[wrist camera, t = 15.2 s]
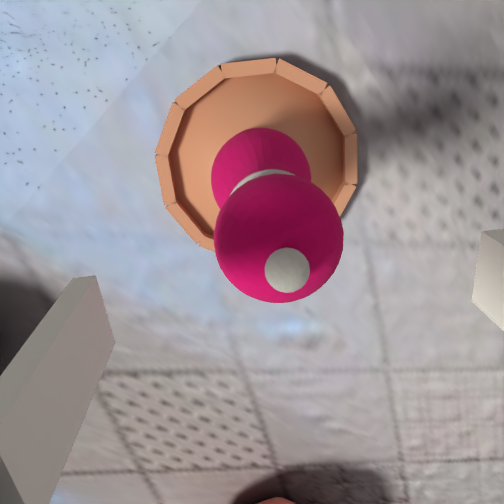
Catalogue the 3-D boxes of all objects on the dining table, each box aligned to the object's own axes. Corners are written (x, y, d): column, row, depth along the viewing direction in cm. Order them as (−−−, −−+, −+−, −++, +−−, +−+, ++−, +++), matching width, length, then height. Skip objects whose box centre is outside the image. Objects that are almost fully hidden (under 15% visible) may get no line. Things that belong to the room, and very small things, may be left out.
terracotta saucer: (178, 263, 37) (176, 270, 36) (142, 72, 31) (138, 72, 30) (352, 243, 37) (357, 250, 36) (352, 49, 31) (357, 48, 30)
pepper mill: (318, 155, 33) (425, 256, 15) (266, 224, 36) (306, 385, 17) (246, 102, 31) (268, 143, 13) (196, 178, 34) (156, 304, 15)
